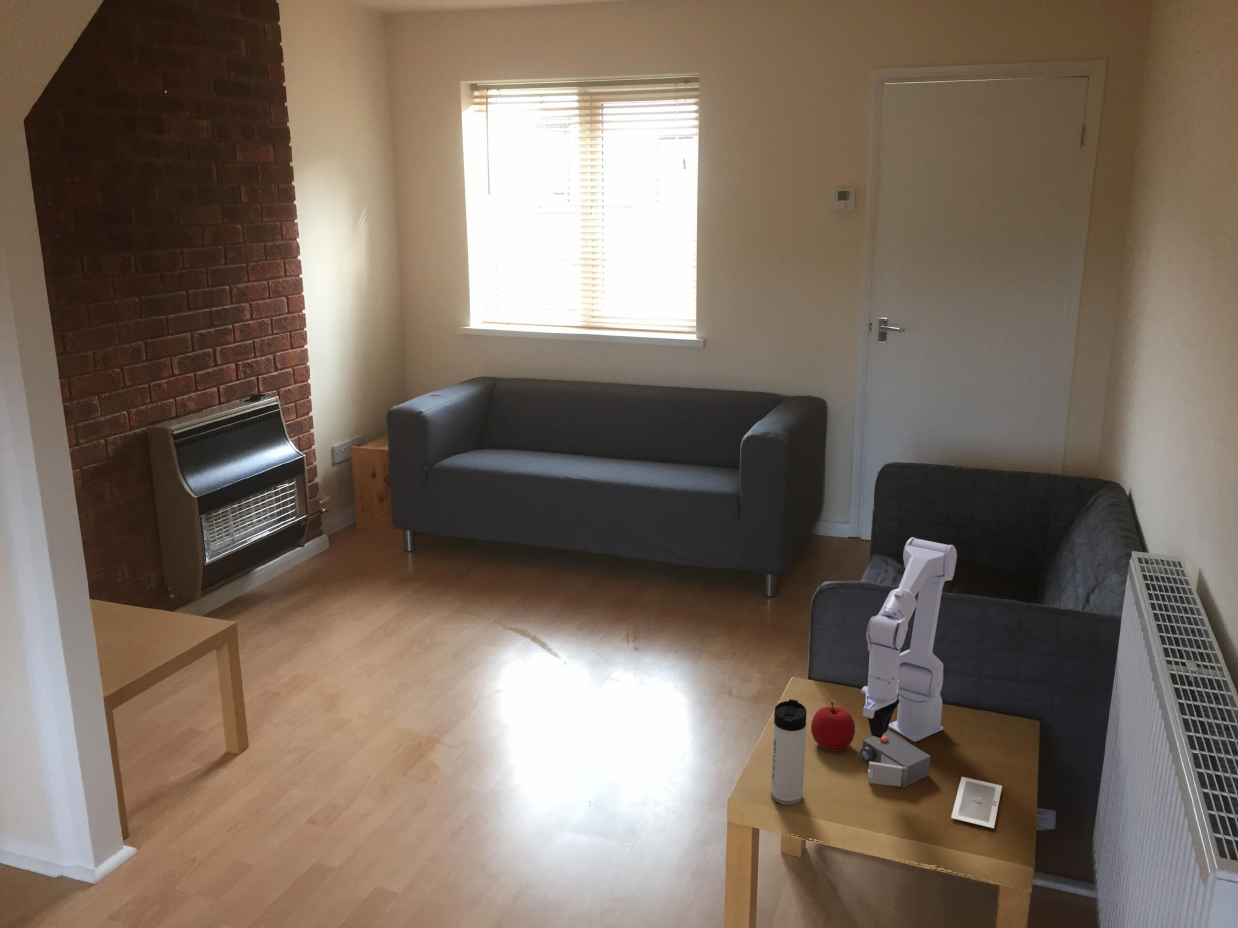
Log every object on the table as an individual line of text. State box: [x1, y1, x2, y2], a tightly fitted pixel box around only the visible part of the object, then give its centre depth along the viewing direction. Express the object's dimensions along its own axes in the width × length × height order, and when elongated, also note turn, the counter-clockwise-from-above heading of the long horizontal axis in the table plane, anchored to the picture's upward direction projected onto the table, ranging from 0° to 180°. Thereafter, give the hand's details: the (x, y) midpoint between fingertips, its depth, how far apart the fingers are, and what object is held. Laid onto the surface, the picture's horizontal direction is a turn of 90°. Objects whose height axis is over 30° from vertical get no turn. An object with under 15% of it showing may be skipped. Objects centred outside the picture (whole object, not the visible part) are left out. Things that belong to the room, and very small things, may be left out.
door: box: [867, 761, 907, 790], centre depth 213 cm, size 8×2×5 cm, turn 73°
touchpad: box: [950, 776, 1003, 829], centre depth 207 cm, size 8×15×2 cm, turn 155°
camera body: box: [859, 730, 932, 787], centre depth 219 cm, size 9×12×5 cm
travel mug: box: [770, 698, 808, 806], centre depth 207 cm, size 6×7×20 cm
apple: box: [810, 702, 856, 752], centre depth 226 cm, size 9×9×10 cm
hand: (878, 733), depth 213 cm, fingers closed
